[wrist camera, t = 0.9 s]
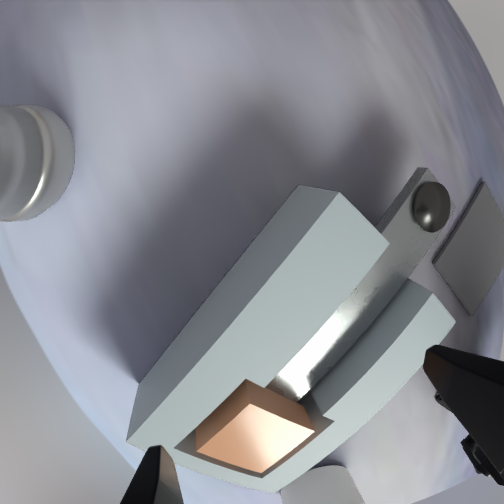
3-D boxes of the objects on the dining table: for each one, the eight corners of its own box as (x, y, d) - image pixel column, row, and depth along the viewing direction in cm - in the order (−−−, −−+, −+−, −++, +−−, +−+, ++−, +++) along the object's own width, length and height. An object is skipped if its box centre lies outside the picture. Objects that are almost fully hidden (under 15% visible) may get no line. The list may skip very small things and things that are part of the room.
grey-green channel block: (298, 184, 18) (339, 192, 13) (407, 289, 22) (456, 322, 16) (138, 384, 20) (125, 442, 15) (260, 441, 24) (273, 493, 18)
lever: (417, 167, 16) (431, 168, 15) (445, 205, 17) (458, 208, 16) (204, 418, 18) (205, 431, 17) (245, 435, 19) (247, 448, 18)
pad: (512, 243, 23) (514, 244, 23) (469, 314, 24) (471, 316, 24) (481, 181, 21) (485, 182, 20) (431, 263, 22) (435, 264, 21)
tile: (304, 406, 18) (314, 431, 16) (255, 448, 19) (261, 473, 16) (243, 376, 17) (249, 403, 14) (195, 424, 17) (196, 451, 15)
